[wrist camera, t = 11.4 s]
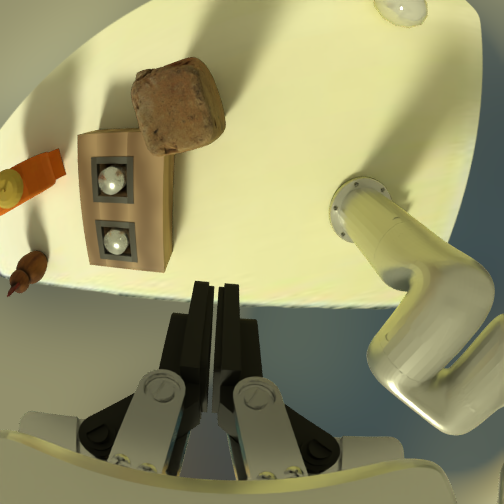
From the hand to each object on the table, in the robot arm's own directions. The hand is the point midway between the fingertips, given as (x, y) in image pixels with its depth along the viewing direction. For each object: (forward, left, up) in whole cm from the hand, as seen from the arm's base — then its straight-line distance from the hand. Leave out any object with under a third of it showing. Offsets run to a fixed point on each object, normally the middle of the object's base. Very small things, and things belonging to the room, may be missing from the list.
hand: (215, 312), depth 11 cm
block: (+6, -8, -35) cm, 37 cm away
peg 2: (+17, +13, -34) cm, 41 cm away
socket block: (+16, +7, -35) cm, 39 cm away
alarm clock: (+36, +3, -35) cm, 51 cm away
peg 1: (+17, +3, -34) cm, 38 cm away
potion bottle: (-22, -36, -35) cm, 55 cm away
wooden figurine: (+42, +23, -35) cm, 59 cm away
